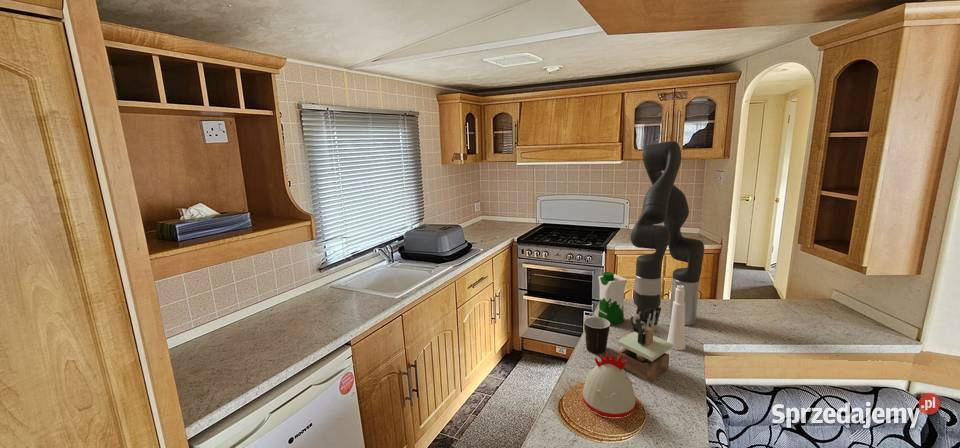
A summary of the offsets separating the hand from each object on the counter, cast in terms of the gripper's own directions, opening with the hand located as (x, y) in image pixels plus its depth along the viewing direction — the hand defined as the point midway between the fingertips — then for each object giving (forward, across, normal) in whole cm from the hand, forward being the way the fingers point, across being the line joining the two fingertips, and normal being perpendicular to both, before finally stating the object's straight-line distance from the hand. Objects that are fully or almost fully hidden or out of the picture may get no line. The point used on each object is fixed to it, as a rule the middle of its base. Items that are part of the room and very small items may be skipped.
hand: (644, 341), depth 122 cm
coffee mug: (+9, +3, -16) cm, 19 cm away
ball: (+7, -2, -2) cm, 8 cm away
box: (+9, 0, 0) cm, 9 cm away
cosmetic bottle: (+10, -21, 0) cm, 23 cm away
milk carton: (+10, -21, -26) cm, 35 cm away
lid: (+2, 0, 0) cm, 2 cm away
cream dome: (+9, +22, +3) cm, 24 cm away
